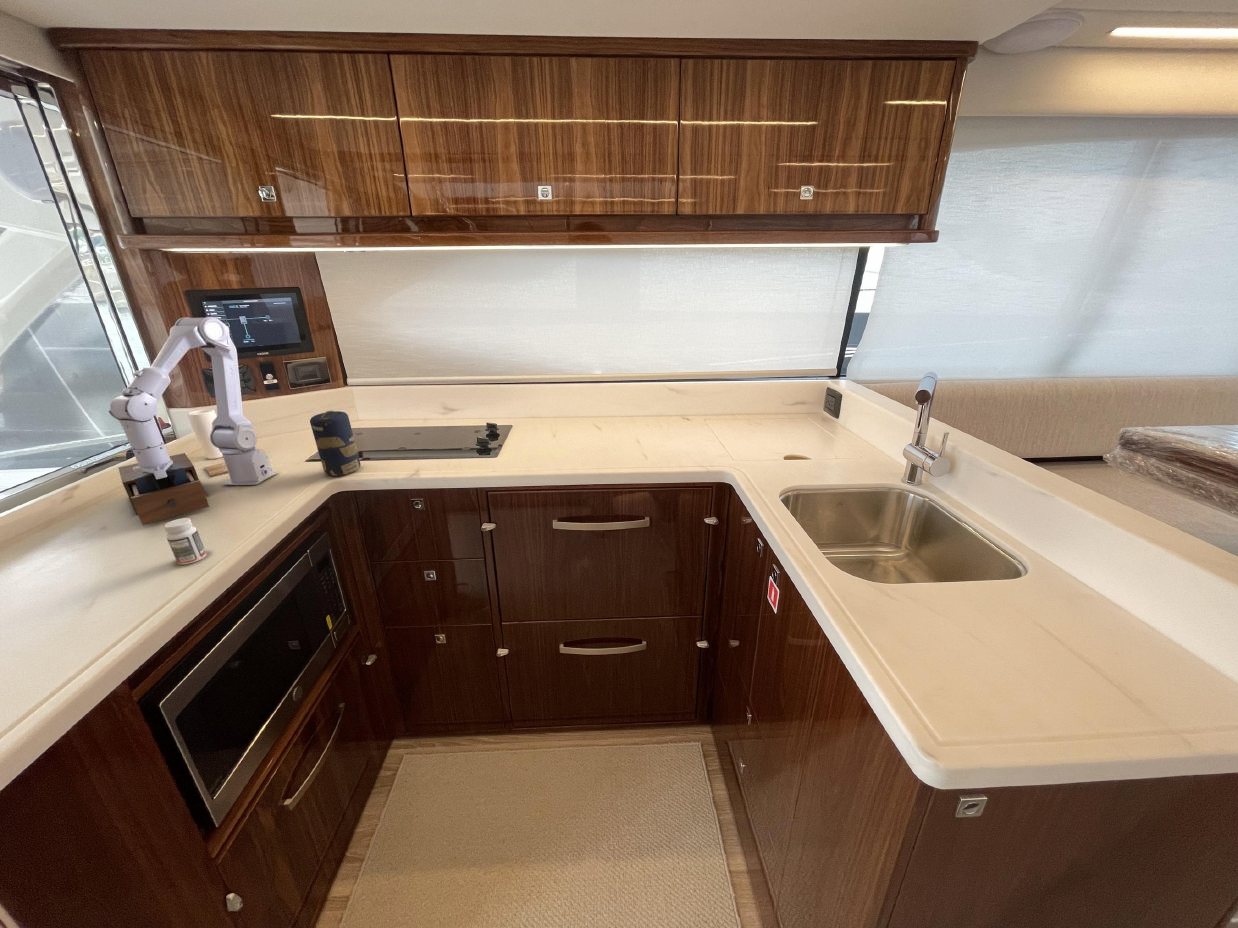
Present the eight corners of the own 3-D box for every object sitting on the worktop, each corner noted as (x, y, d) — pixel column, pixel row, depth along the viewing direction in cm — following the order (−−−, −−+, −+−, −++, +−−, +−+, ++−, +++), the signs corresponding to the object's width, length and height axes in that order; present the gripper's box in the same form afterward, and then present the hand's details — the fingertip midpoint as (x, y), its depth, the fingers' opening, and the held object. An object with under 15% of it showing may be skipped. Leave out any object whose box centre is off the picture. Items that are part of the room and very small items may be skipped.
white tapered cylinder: (216, 460, 157) (199, 414, 152) (198, 460, 158) (181, 414, 153) (235, 453, 163) (219, 408, 158) (218, 452, 165) (202, 408, 159)
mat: (251, 466, 151) (251, 465, 151) (211, 476, 144) (210, 475, 144) (244, 459, 157) (244, 458, 157) (205, 468, 151) (204, 467, 151)
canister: (369, 467, 146) (354, 407, 140) (342, 479, 138) (326, 416, 131) (344, 464, 149) (328, 405, 143) (316, 476, 141) (299, 414, 134)
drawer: (210, 507, 122) (200, 482, 119) (143, 526, 114) (131, 499, 111) (199, 491, 132) (190, 467, 130) (137, 507, 124) (126, 482, 122)
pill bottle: (196, 551, 104) (182, 515, 101) (212, 554, 103) (198, 518, 100) (171, 563, 100) (155, 526, 97) (187, 566, 99) (172, 529, 95)
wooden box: (205, 496, 131) (193, 465, 128) (136, 514, 122) (122, 482, 119) (195, 481, 141) (184, 452, 138) (131, 497, 132) (118, 467, 129)
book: (195, 499, 125) (183, 467, 121) (148, 511, 119) (134, 479, 116) (193, 495, 127) (181, 464, 124) (147, 508, 121) (133, 475, 118)
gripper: (123, 444, 119) (145, 495, 124) (127, 457, 110) (151, 512, 115) (161, 436, 124) (181, 486, 129) (168, 448, 114) (190, 502, 119)
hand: (169, 498), depth 122 cm, fingers closed on book, 3 cm apart
